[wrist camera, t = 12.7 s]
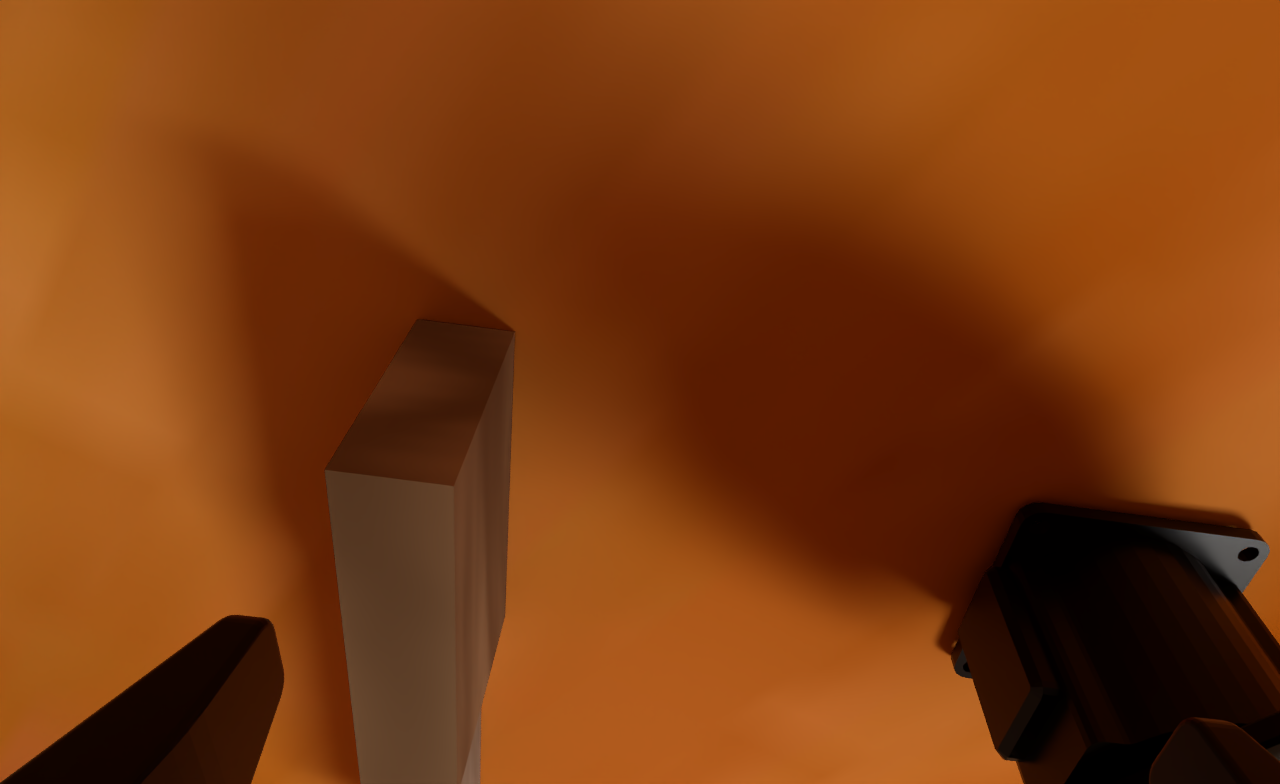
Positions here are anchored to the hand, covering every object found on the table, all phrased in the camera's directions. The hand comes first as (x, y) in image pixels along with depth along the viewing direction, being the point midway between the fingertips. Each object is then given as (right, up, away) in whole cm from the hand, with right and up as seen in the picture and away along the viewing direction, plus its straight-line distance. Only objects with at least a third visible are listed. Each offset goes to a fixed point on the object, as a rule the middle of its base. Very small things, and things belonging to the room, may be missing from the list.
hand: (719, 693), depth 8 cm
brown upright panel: (-6, -5, +18) cm, 20 cm away
